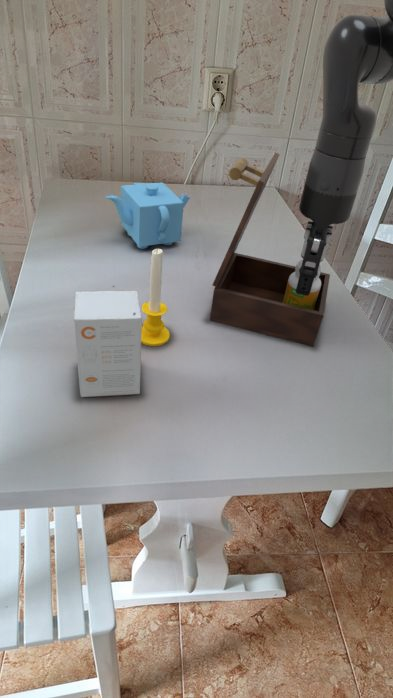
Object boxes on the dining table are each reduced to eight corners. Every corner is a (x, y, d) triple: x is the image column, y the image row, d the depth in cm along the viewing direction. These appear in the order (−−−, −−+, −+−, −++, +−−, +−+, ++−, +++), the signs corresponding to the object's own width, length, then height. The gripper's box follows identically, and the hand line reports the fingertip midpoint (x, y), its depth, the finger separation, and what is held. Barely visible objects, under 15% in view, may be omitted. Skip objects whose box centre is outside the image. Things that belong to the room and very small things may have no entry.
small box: (136, 364, 72) (138, 289, 63) (140, 395, 67) (142, 318, 59) (80, 366, 70) (74, 290, 62) (79, 398, 65) (73, 319, 57)
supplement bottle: (279, 321, 82) (292, 271, 76) (280, 304, 87) (292, 255, 80) (311, 326, 82) (326, 276, 76) (310, 309, 86) (325, 260, 80)
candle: (139, 347, 75) (142, 257, 65) (133, 327, 78) (135, 239, 69) (172, 344, 76) (180, 255, 66) (165, 324, 80) (171, 237, 70)
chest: (320, 304, 89) (330, 274, 85) (313, 347, 79) (323, 315, 75) (228, 282, 92) (233, 252, 88) (209, 320, 82) (213, 289, 78)
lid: (279, 154, 76) (248, 139, 76) (264, 182, 66) (228, 165, 66) (235, 250, 88) (208, 238, 88) (216, 287, 78) (185, 273, 78)
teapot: (201, 249, 101) (207, 197, 94) (118, 262, 94) (118, 206, 87) (170, 217, 112) (174, 168, 105) (93, 226, 105) (92, 174, 98)
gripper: (356, 206, 64) (324, 308, 74) (359, 173, 75) (331, 266, 85) (299, 195, 65) (275, 297, 75) (311, 163, 76) (288, 256, 86)
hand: (305, 280), depth 80 cm, fingers open, 8 cm apart
